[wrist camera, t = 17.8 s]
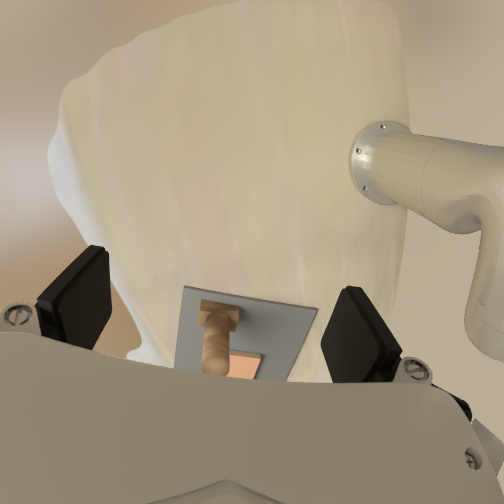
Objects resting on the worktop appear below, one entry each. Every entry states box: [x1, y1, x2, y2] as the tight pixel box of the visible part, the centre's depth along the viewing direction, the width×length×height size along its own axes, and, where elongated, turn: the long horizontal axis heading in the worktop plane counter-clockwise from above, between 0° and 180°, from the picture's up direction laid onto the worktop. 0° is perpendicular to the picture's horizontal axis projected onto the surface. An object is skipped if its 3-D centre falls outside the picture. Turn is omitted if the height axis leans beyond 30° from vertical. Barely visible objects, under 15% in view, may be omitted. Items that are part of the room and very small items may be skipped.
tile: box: [226, 349, 261, 379], centre depth 50 cm, size 8×2×10 cm
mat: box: [174, 286, 317, 382], centre depth 50 cm, size 22×24×1 cm
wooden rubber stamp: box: [197, 299, 239, 376], centre depth 39 cm, size 6×4×13 cm, turn 76°
